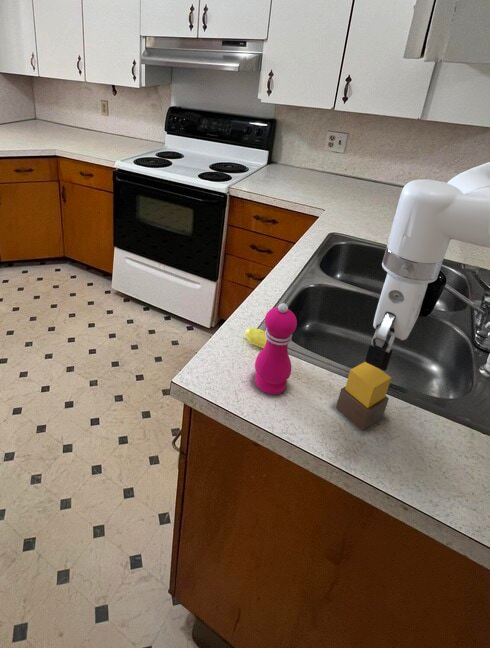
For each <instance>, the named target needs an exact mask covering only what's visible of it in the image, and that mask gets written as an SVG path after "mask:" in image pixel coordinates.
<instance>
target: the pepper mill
mask: <svg viewBox="0 0 490 648" xmlns="http://www.w3.org/2000/svg"><path fill="white" fill-rule="evenodd" d="M264 325H265V331H266V332H265V336H266V338H267V341H266V344H265V347H264V348H261V350H260V351H259V352H258V354H257V356H256V358H255V362H254V370H255V377H254V382H255V385H256V386H257V388H258V389H259V390H261V391H262V392H263V393H266V394H268V395H279V394H281V393H282V392H284V391H285V390H286V387H287V381H288V380H289V378H290V377H291V375H292V361H291V357H290V355H289V350H288V348H289V347H288V346H289V344H290V343H291V342H292V337H293V333H295V331H296V330H297V326H298V320H297V317H296V315H295V314H294V312H293V311H292V310H291V309H289V306H288V305H287V304H286V303H285V302H283V303H282V302H281V303H280V304H278V306H276V307H272V308H271V309H269V310H268V311H267V312H266V314H265V317H264Z"/></svg>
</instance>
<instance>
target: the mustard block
mask: <svg viewBox="0 0 490 648" xmlns="http://www.w3.org/2000/svg"><path fill="white" fill-rule="evenodd" d="M391 380H392V377H391V376H390V375H389V374H387V373H386V372H385V371H383V370H381V369H379V368H377V367H375V366H372V365H370V364H368V363H366V361H363V362H362V363H360V364H358V365H356V366H355V367H353V368H350V369H349V373H348V376H347V381H346V384H345V386H346V387H345V386H344V387H345V390H346V391H348V392H349V393H350V394H351V395H352V396H354V397H355V398H356V399H357V400H358V401H360V402H361V403H362V404H363V405H364V406H366V407H367V408H369V407H370V406H372V405H374V404H375V403H377V402H378V401H380V400H382V399H383V398H385V396H386V395H387V392H388V390H389V387H390V384H391ZM386 397H387V396H386Z"/></svg>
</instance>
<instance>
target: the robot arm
mask: <svg viewBox="0 0 490 648" xmlns="http://www.w3.org/2000/svg"><path fill="white" fill-rule="evenodd" d="M451 240H455V241H459V242H463V243H467V244H471V245H475V246H479V247H484V248H490V161H489V162H485V163H482V164H480V165H478V166H474V167H472V168H469V169H467V170H465V171H462V172H460V173H459V174H456V175H454V177H452V178H451V179H450V180H448V181H447V182H445V181H440V180H435V179H424V178H423V179H414V180H410V181H408V182H407V183H406V184H405V185H404V186H403V187H402V189H401V192H400V195H399V199H398V203H397V207H396V210H395V214H394V218H393V222H392V225H391V229H390V232H389V236H388V240H387V244H386V247H385V251H384V255H383V259H382V262H381V267H382V269H383V270H384V271H385V272H386V276H385V280H384V283H383V286H382V289H381V292H380V296H379V299H378V303H377V307H376V310H375V314H374V318H373V322H372V323H373V324H372V327H373V328H374V330H375V331H374V334H373V336H372V339H371V341H370V342H369V346H368V349H367V353H366V356H365V359H364V360H365V361H364V362H366V363H368V364H370V365H372V366H375V367H377V368H379V369H380V370H382V371H383V372H385V371H387V369H388V367H389V364H390V361H391V359H392V355H393V352H394V350H393V349H392V348H393V346H394V344H395V341H396V339H398V340H400V341H405V340H407V339H408V338H409V336H410V334H411V332H412V331H413V328H414V326H415V324H416V322H417V320H418V318H419V315H420V312H421V308H422V305H423V301H424V299H425V295H426V292H427V289H428V285H429V284H431V283H434V282H435V281H437V279H438V277H439V274H440V271H441V268H442V265H443V262H444V259H445V256H446V254H447V252H448V251H447V250H448V249H449V248H448V247H449V245H450V242H451ZM388 336H390V338H389V340H388V341H387V338H388Z"/></svg>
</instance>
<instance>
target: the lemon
mask: <svg viewBox="0 0 490 648" xmlns="http://www.w3.org/2000/svg"><path fill="white" fill-rule="evenodd" d="M265 332H266V330H263V329H260V328H255V327H249V328H246V329H245V330H244V333H245V336H246V337H247V339H248V341H249V342H250V344H252V345H253V346H256V347H258V348H260V349H263V348H264V347H265V344H266V341H267V338H266V336H265Z"/></svg>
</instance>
